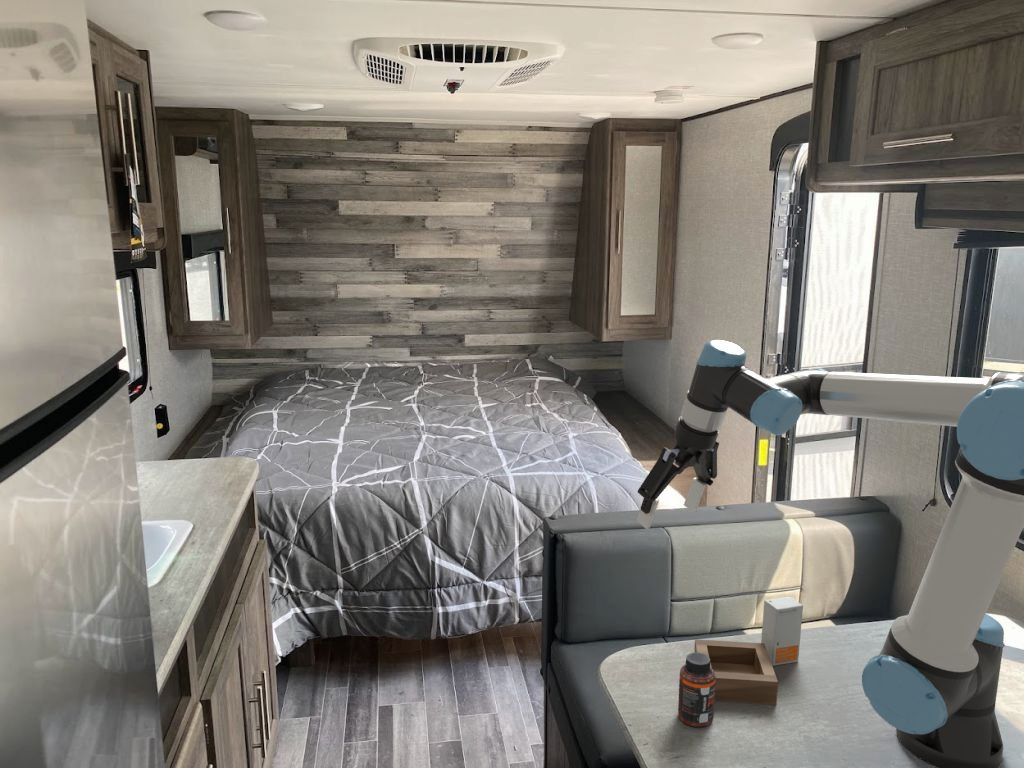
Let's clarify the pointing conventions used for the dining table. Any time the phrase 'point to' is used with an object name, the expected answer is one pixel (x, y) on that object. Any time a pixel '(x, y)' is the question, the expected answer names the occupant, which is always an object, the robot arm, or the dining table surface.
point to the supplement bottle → (696, 691)
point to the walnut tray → (740, 671)
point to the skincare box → (782, 629)
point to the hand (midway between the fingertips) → (667, 516)
